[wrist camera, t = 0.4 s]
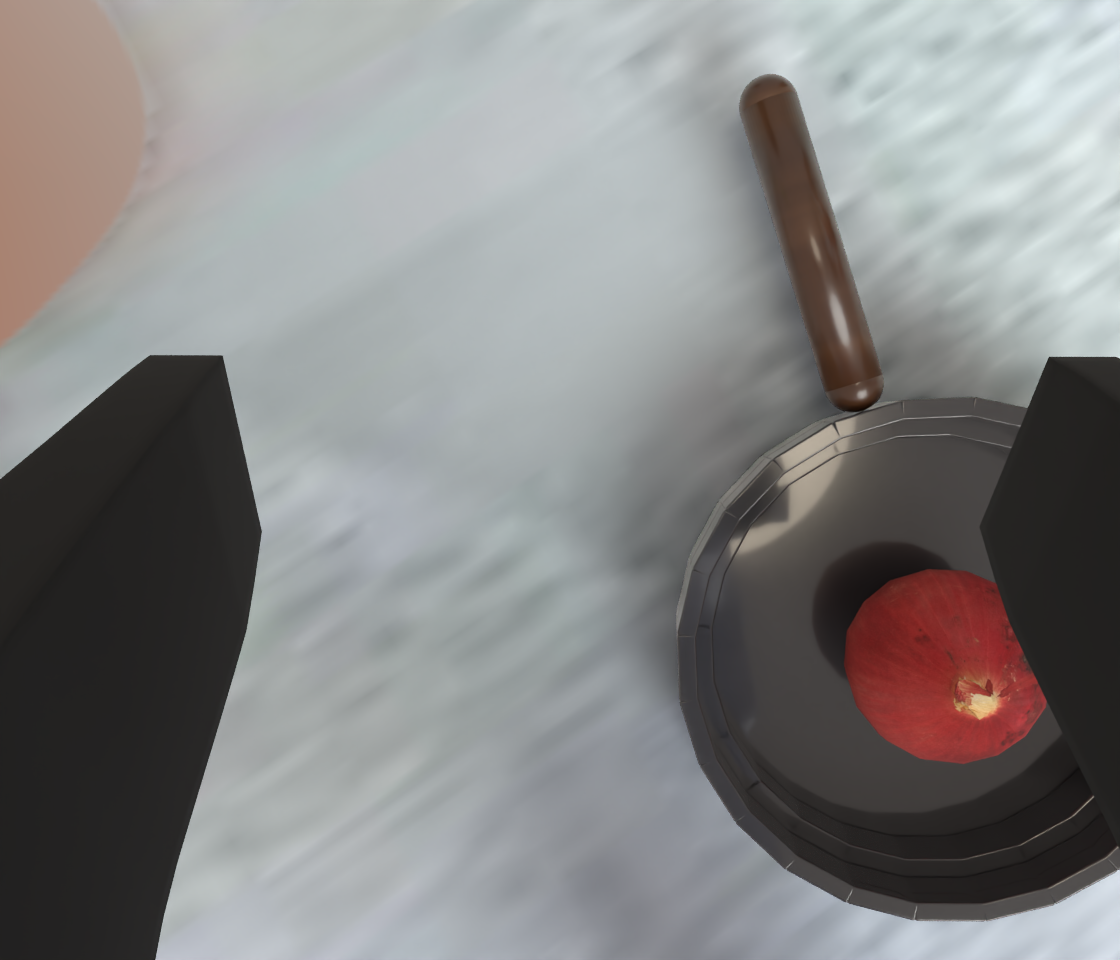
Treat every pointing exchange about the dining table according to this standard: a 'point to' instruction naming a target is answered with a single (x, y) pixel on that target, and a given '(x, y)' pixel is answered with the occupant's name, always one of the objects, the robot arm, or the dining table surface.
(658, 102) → the dining table surface
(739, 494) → the pan
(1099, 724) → the robot arm
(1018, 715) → the onion
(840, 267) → the pan handle
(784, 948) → the dining table surface
